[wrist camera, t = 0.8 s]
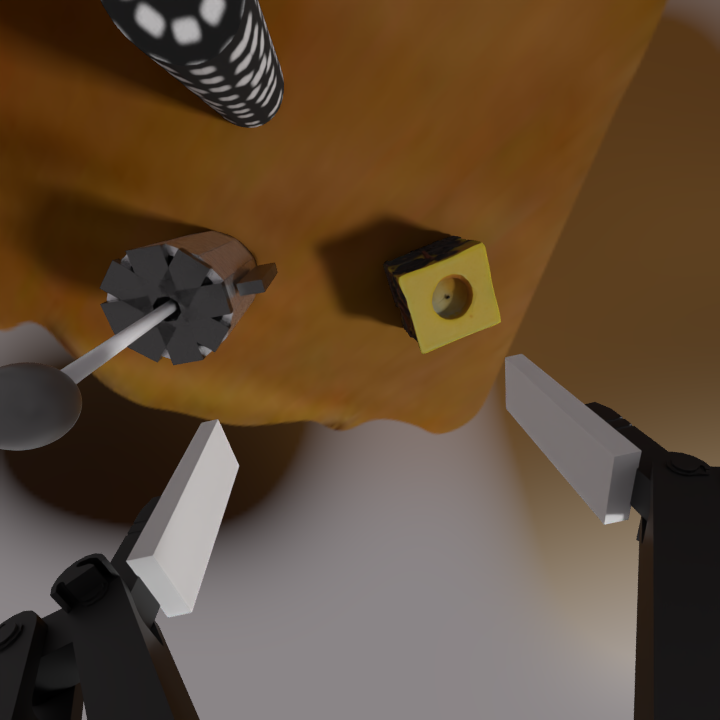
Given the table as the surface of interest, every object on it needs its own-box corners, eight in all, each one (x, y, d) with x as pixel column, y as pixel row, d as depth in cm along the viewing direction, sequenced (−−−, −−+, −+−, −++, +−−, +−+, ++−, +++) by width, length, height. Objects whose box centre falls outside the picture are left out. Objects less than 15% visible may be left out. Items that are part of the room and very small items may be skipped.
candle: (403, 329, 51) (420, 357, 42) (380, 262, 47) (393, 277, 38) (471, 303, 50) (503, 325, 41) (453, 232, 46) (485, 240, 37)
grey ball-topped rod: (140, 261, 35) (-176, 365, 13) (216, 248, 35) (32, 329, 13) (169, 332, 38) (-45, 514, 16) (239, 320, 38) (121, 483, 16)
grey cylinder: (161, 239, 43) (78, 259, 29) (268, 220, 43) (240, 231, 29) (191, 319, 48) (132, 372, 33) (288, 302, 48) (272, 347, 33)
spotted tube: (219, 134, 39) (129, 78, 21) (190, 39, 36) (53, -124, 18) (292, 119, 39) (264, 50, 21) (271, 23, 36) (215, -158, 18)
